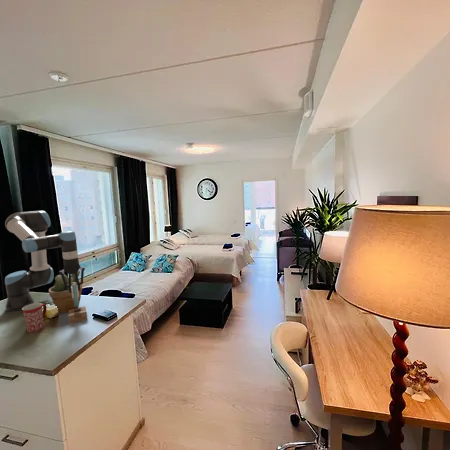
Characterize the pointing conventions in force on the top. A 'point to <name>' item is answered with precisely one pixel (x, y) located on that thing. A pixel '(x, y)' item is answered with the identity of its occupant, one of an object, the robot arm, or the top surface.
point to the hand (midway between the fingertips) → (75, 296)
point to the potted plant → (64, 294)
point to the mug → (34, 316)
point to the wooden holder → (77, 315)
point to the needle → (75, 294)
